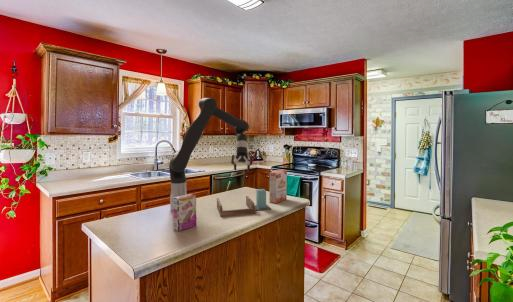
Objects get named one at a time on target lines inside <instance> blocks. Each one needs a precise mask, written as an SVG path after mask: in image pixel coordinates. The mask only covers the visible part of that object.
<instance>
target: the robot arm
mask: <svg viewBox="0 0 513 302" xmlns="http://www.w3.org/2000/svg"><path fill="white" fill-rule="evenodd" d="M217 106H218V103H217V100H216V99H215V98H213V97H204V98H201V99H200V100H199V101H198V107H199V109H200V110H201V111H200V112H199V115H198V116H197V117H196V118H195V120H194V121H192V122H191V124H190V125H189V127H188V128H187V130H186V132H185V134H184V136H183V139H182V143H181V147H180V149H179V151H178V153H177V154H176V156H174V157H172V158H171V159H170V161H169V178H170V191H171V193H170V195H169V202H170V203H169V204H170V205H169V206H170V210H171V211H173V197H178V196H183V195H187V194H188V193H187V177H186V171H185V170H186V168H187V166H188V163H189V162H190V161H189V160H190V158H191V156H192V154H193V152H194V150H195V148H196V147H197V144H198V143H199V141H200V139H201V137H202V136H203V133H204V131H205V128H206V127H207V125H208V123H209V121H210V119H211V117H212V116H213V117H215V118H217V119H219V120H220V121H222V122H224V123H225V124H226V125H229V126H230V127H231V128H234V132H235V136H236V146H235V147H236V151H235V152H236V155H234V154H232V155H231V160H230V161H231V163H230V165H233V170H234V171H237V164H238V163H243V164H244V163H245V165H246V170H247V172H249V171H250V170H251V169H250V168H251V166H253V164H254V163H253V156H252V155H251V156H248V137H247V134H245V133H244V132H246V131H248V130H249V128H250V125H249V123H248V122H247V121H246V120H243V119H241V118H238V117H236V116H234V115H233V114H232V113H229V112H228V111H226V110H222V109H221V108H219V107H217ZM234 159H236V160H235V161H234Z"/></svg>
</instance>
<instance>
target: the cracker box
mask: <svg viewBox="0 0 513 302" xmlns="http://www.w3.org/2000/svg"><path fill="white" fill-rule="evenodd" d="M287 175H288V171H287V170H286V169H285V170H284V169H279V170H275V171H270V172H269V196H268V197H269V199H268V200H269V203H272V204H278V203H280V202H283V201H285V200H287V193H288V192H287V189H288V188H287V187H288V186H287V182H288V181H287V180H288V179H287V177H288V176H287Z"/></svg>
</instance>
